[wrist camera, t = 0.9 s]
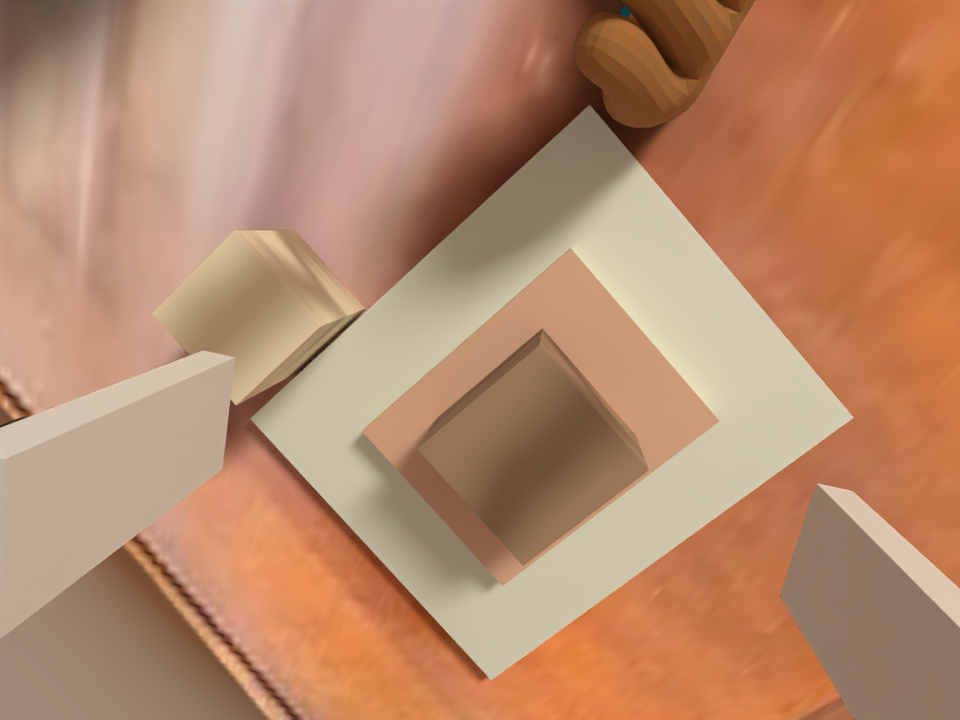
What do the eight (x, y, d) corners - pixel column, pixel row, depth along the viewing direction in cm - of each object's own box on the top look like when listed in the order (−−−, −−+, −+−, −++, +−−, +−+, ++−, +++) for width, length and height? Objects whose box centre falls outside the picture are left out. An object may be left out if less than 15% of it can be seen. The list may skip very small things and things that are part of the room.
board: (257, 413, 38) (237, 426, 36) (588, 108, 33) (591, 98, 31) (492, 669, 39) (488, 697, 37) (845, 412, 34) (867, 426, 32)
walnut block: (437, 417, 34) (417, 448, 29) (542, 328, 33) (539, 345, 28) (528, 518, 35) (523, 566, 30) (635, 435, 33) (648, 470, 28)
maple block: (226, 298, 37) (151, 314, 30) (295, 230, 36) (233, 230, 29) (295, 373, 37) (236, 405, 31) (365, 308, 36) (320, 326, 29)
